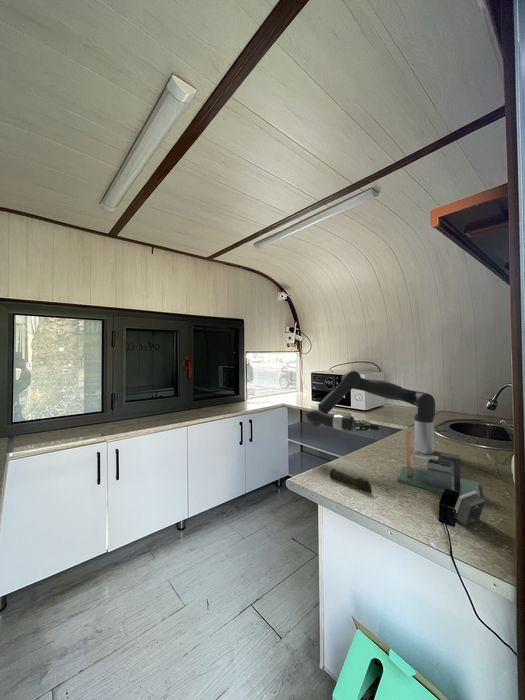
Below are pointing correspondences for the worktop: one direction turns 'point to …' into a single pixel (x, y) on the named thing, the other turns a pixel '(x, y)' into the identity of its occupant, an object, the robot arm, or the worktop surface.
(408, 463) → the upright wooden plank
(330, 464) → the worktop surface
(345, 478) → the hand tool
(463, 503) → the electrical switch
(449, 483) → the base
